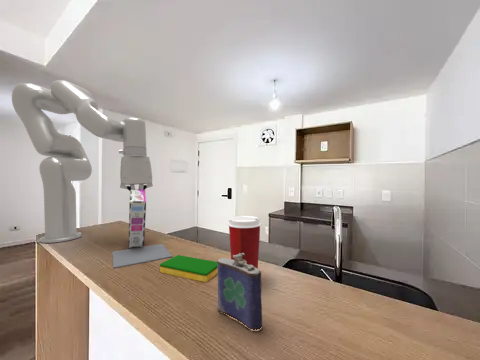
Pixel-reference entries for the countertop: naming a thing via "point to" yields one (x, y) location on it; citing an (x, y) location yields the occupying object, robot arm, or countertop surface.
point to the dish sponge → (190, 268)
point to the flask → (240, 291)
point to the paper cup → (245, 238)
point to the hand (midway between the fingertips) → (137, 203)
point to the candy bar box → (137, 218)
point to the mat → (139, 255)
